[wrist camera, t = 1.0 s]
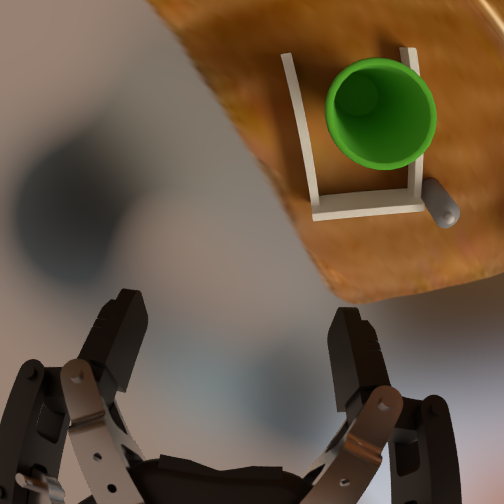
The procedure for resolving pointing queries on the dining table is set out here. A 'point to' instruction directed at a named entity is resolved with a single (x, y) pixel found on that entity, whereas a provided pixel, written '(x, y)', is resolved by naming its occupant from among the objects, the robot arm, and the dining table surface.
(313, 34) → the dining table surface
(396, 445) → the robot arm
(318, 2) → the dining table surface
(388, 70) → the cup
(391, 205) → the bay
